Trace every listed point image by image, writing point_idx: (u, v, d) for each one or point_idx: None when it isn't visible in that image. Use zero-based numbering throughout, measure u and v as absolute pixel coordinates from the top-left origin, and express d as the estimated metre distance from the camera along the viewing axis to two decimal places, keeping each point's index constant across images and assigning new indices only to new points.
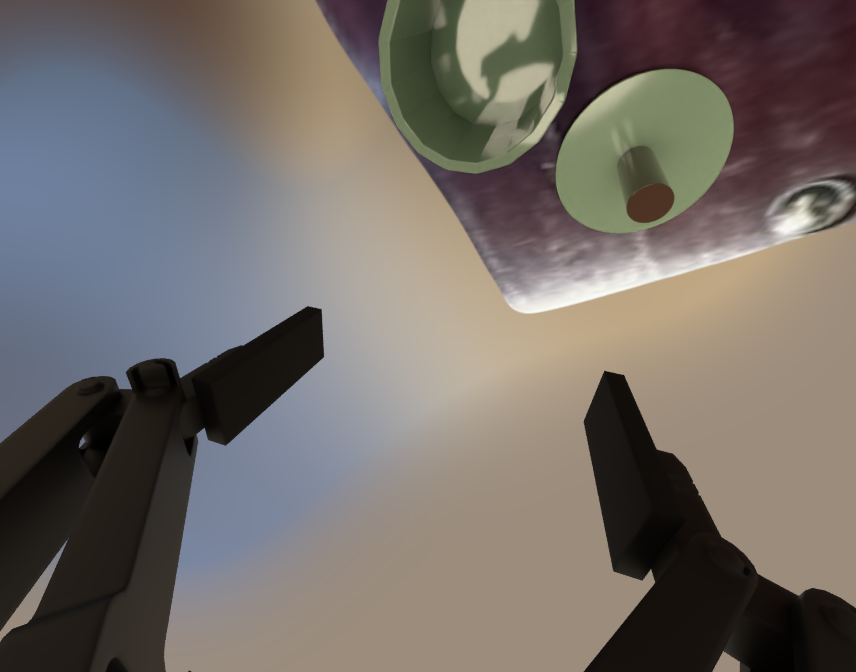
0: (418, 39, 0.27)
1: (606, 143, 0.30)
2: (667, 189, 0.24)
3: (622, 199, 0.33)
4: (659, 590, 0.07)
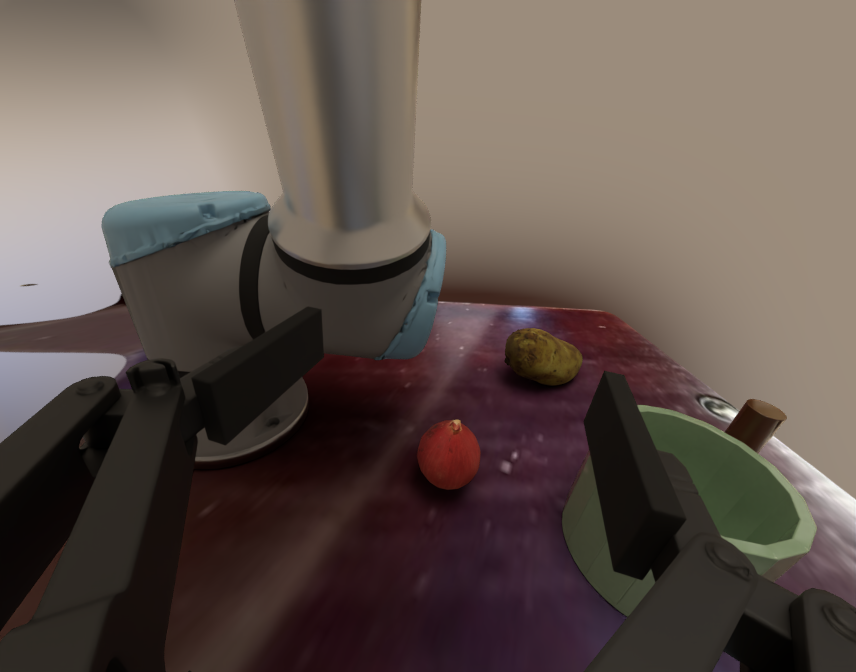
0: None
1: None
2: (749, 400, 0.34)
3: None
4: (659, 590, 0.07)
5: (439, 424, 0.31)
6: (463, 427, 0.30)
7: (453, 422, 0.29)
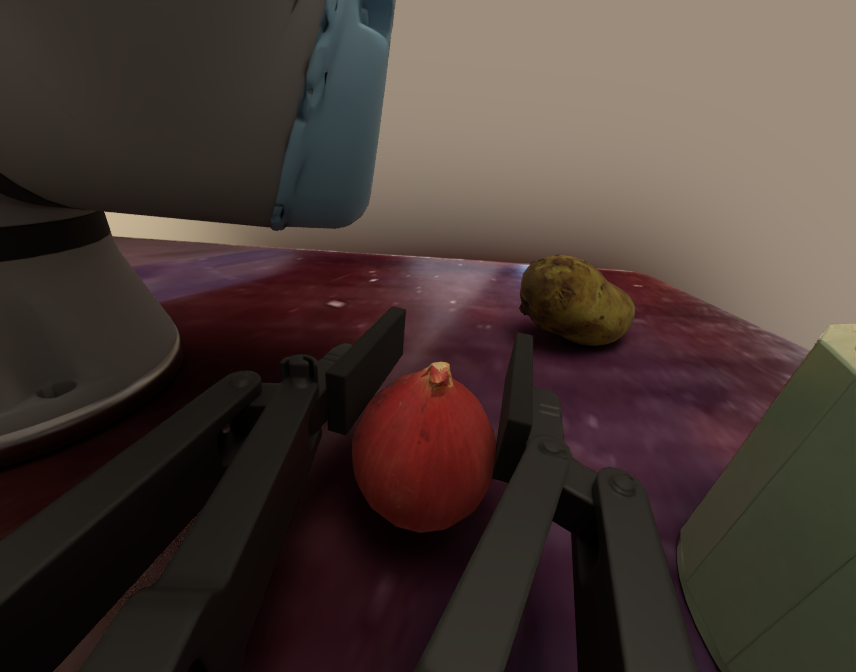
0: None
1: None
2: None
3: None
4: (511, 488, 0.09)
5: (401, 379, 0.13)
6: (457, 383, 0.13)
7: (432, 366, 0.12)
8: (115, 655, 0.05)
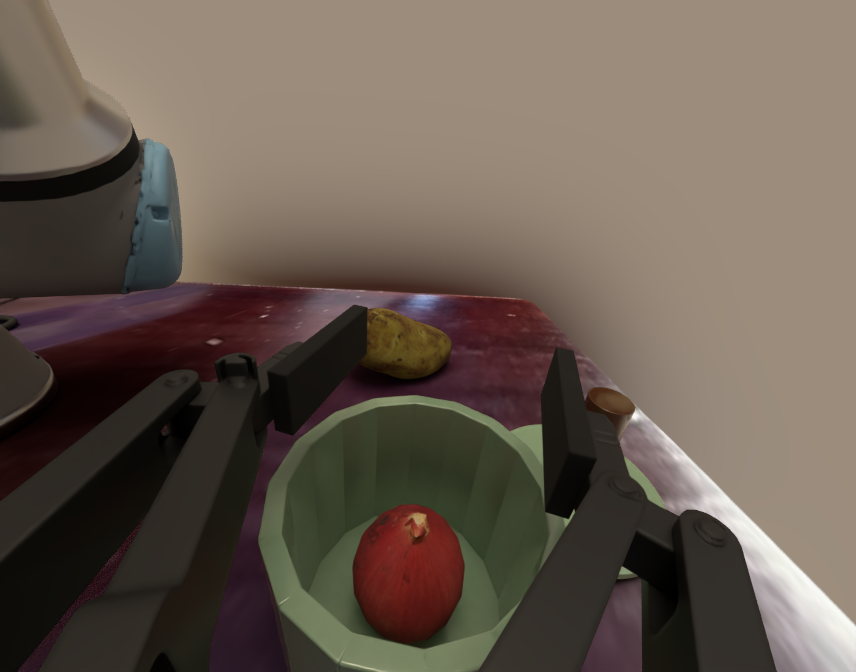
0: None
1: None
2: (594, 389, 0.25)
3: None
4: (574, 524, 0.08)
5: (391, 518, 0.17)
6: (433, 523, 0.17)
7: (413, 520, 0.16)
8: (69, 664, 0.05)
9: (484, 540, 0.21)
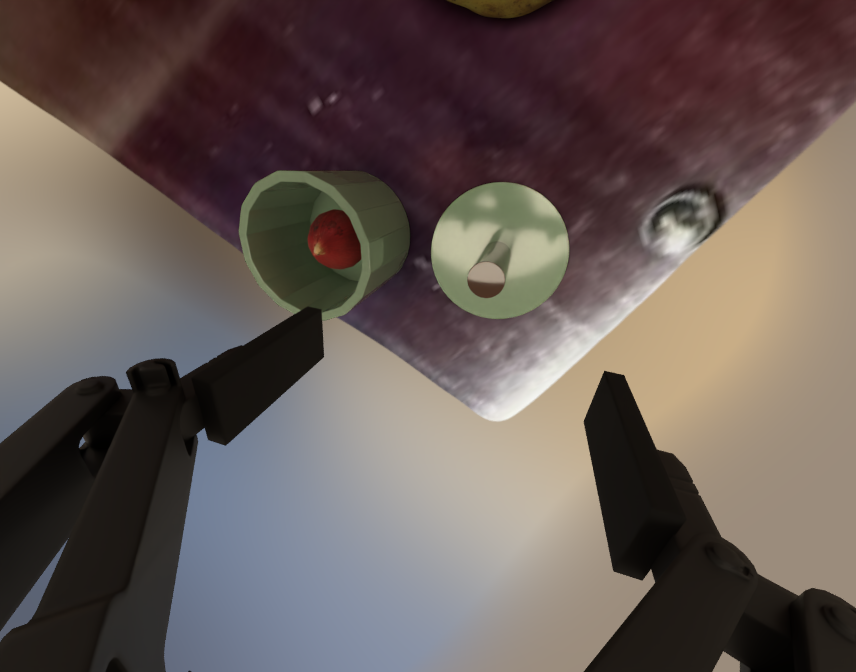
0: (294, 248, 0.36)
1: (464, 253, 0.35)
2: (489, 263, 0.26)
3: (507, 285, 0.35)
4: (659, 590, 0.07)
5: (316, 231, 0.32)
6: (332, 249, 0.32)
7: (314, 248, 0.31)
8: None
9: None
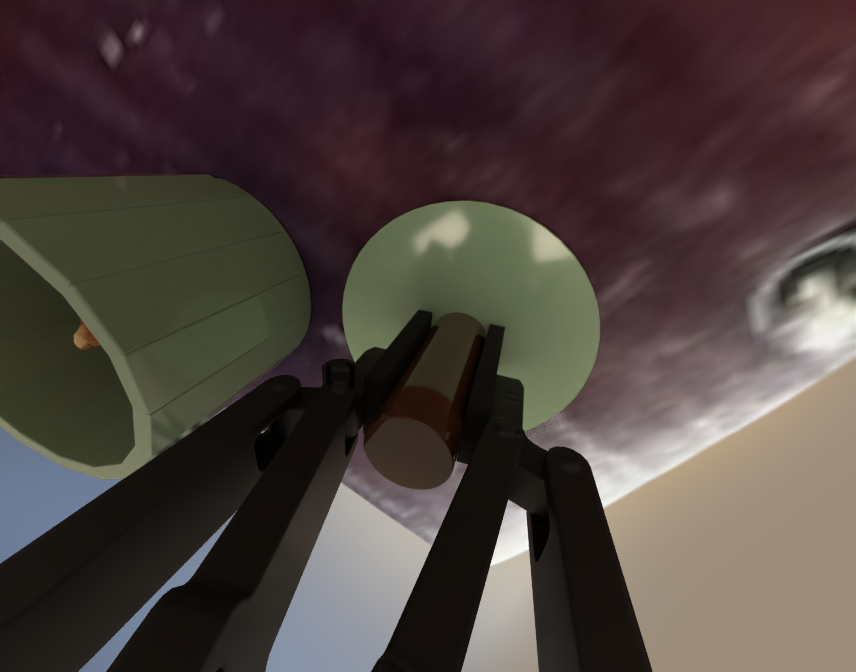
0: None
1: (400, 328, 0.19)
2: (411, 423, 0.10)
3: None
4: (470, 470, 0.09)
5: None
6: None
7: (74, 336, 0.15)
8: (143, 655, 0.05)
9: None
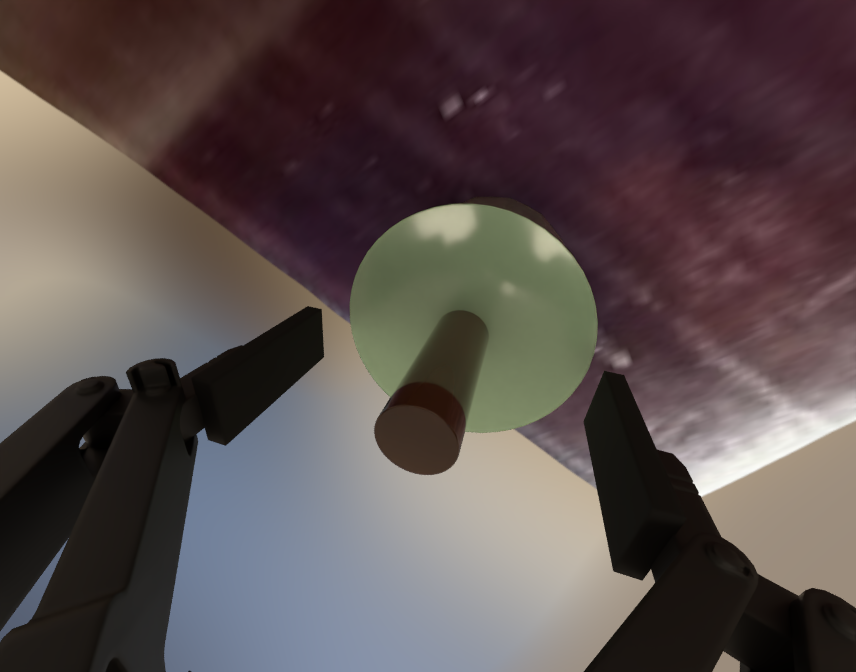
0: None
1: (405, 325, 0.19)
2: (419, 411, 0.11)
3: (482, 383, 0.20)
4: (659, 590, 0.07)
5: None
6: None
7: None
8: None
9: None
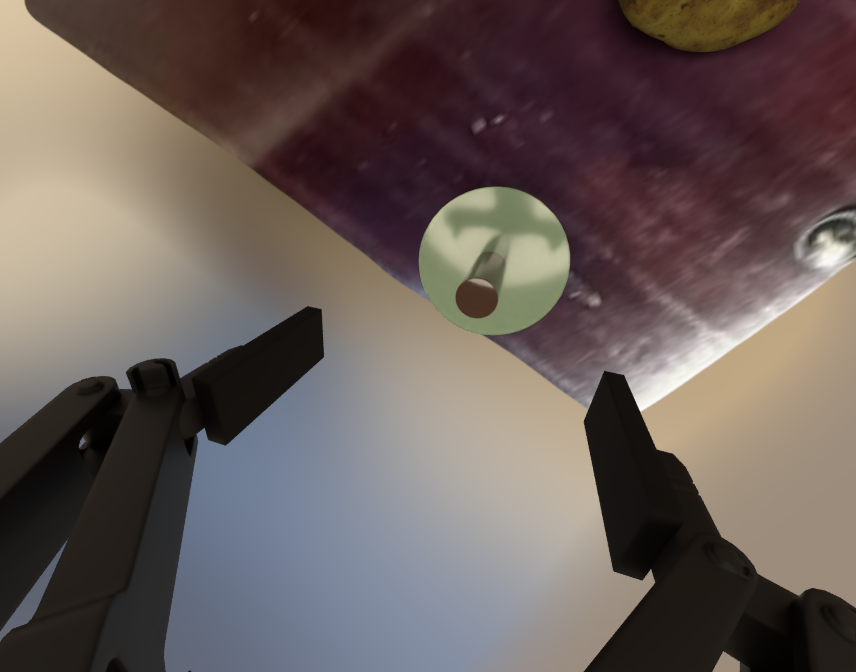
0: None
1: (454, 263, 0.32)
2: (479, 280, 0.23)
3: (501, 299, 0.32)
4: (659, 590, 0.07)
5: None
6: None
7: None
8: None
9: None
